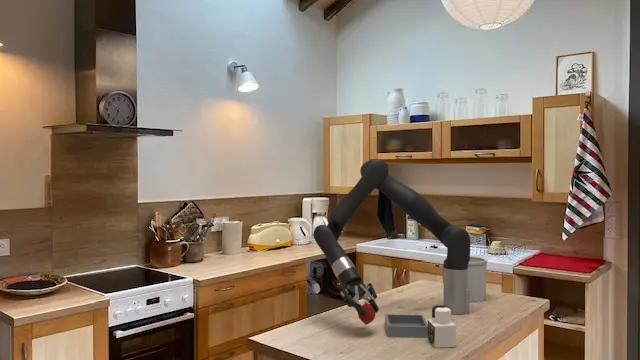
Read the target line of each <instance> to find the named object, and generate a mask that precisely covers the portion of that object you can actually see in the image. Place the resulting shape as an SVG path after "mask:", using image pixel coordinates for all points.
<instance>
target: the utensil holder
mask: <svg viewBox="0 0 640 360" xmlns="http://www.w3.org/2000/svg"><path fill="white" fill-rule="evenodd" d="M487 265H488V259H487V258H486V257H484V256H480V255H471V254H470V261H469V263H468V289H469V303H482V302H484V301H486V295H487V267H488V266H487Z"/></svg>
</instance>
